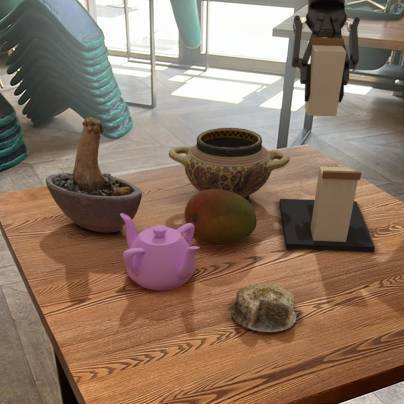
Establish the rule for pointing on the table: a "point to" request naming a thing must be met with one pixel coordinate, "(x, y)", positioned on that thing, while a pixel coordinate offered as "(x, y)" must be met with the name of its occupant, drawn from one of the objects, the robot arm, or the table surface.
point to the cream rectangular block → (325, 76)
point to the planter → (93, 188)
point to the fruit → (220, 217)
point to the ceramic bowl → (229, 161)
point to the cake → (264, 308)
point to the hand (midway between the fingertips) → (323, 98)
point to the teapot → (159, 255)
